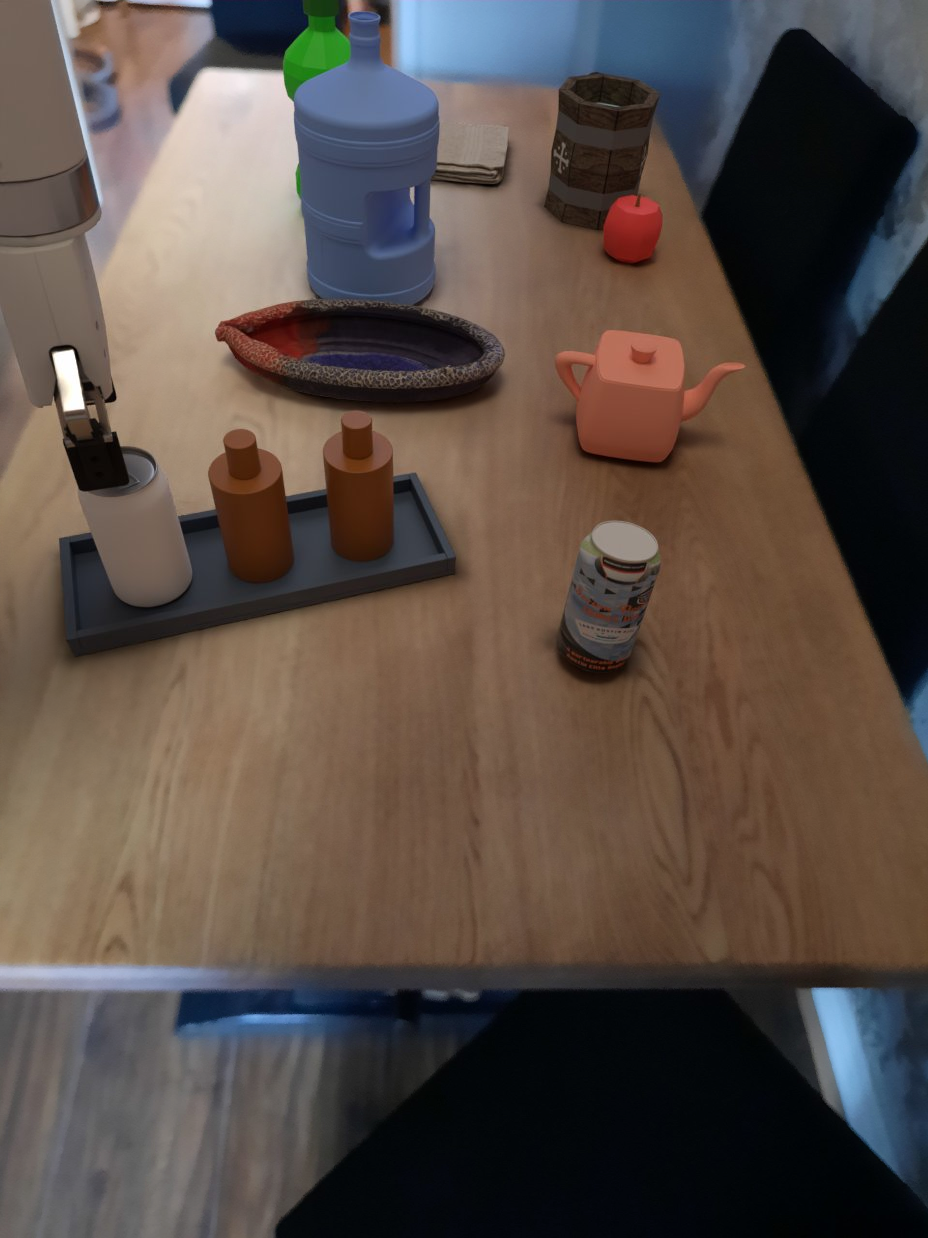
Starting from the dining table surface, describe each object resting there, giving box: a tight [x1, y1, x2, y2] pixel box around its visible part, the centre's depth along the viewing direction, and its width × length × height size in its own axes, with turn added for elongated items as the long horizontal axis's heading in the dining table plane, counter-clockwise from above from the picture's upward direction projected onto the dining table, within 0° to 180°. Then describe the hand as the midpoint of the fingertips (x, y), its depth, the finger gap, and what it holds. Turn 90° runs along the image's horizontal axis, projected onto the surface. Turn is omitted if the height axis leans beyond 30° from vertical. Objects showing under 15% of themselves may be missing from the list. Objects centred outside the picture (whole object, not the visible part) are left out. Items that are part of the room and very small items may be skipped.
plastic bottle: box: [282, 0, 351, 201], centre depth 108 cm, size 10×10×25 cm
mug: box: [543, 71, 661, 231], centre depth 119 cm, size 20×14×15 cm
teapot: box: [554, 329, 746, 463], centre depth 85 cm, size 12×18×10 cm, turn 81°
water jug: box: [293, 10, 441, 306], centre depth 95 cm, size 16×16×28 cm
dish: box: [214, 298, 506, 403], centre depth 92 cm, size 16×31×5 cm, turn 84°
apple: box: [602, 193, 664, 265], centre depth 111 cm, size 8×8×8 cm
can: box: [77, 445, 192, 608], centre depth 67 cm, size 6×6×12 cm
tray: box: [58, 472, 457, 657], centre depth 73 cm, size 32×12×2 cm, turn 109°
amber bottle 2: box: [322, 410, 394, 562], centre depth 71 cm, size 6×6×13 cm
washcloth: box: [431, 121, 510, 185], centre depth 130 cm, size 12×18×3 cm, turn 176°
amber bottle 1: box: [207, 428, 294, 583], centre depth 69 cm, size 6×6×13 cm
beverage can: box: [556, 520, 662, 674], centre depth 66 cm, size 6×7×12 cm
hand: (99, 442), depth 60 cm, fingers open, 9 cm apart
